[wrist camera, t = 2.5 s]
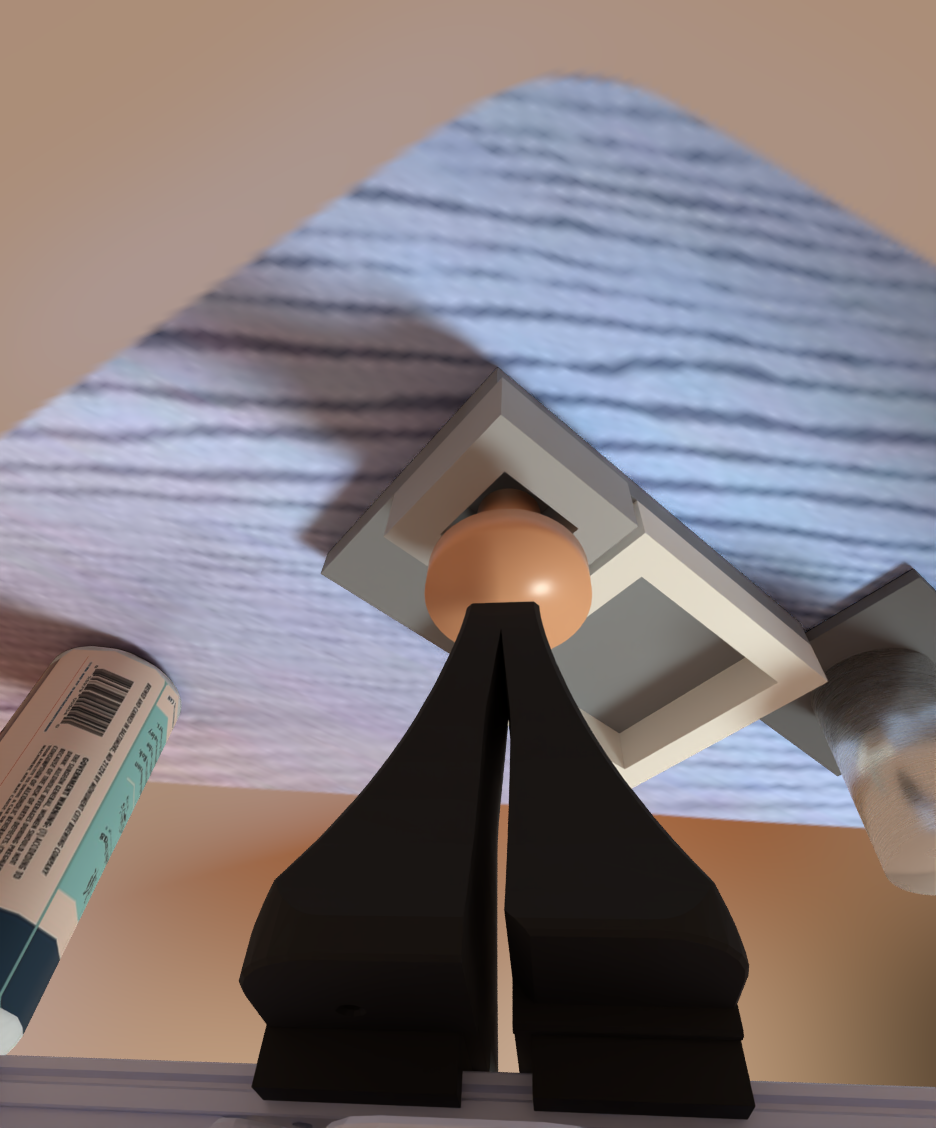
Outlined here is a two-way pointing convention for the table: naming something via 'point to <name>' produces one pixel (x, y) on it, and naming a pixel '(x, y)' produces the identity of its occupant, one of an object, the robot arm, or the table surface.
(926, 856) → the billet
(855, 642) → the mat
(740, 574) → the station
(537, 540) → the button
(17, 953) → the beer can
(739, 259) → the table surface
